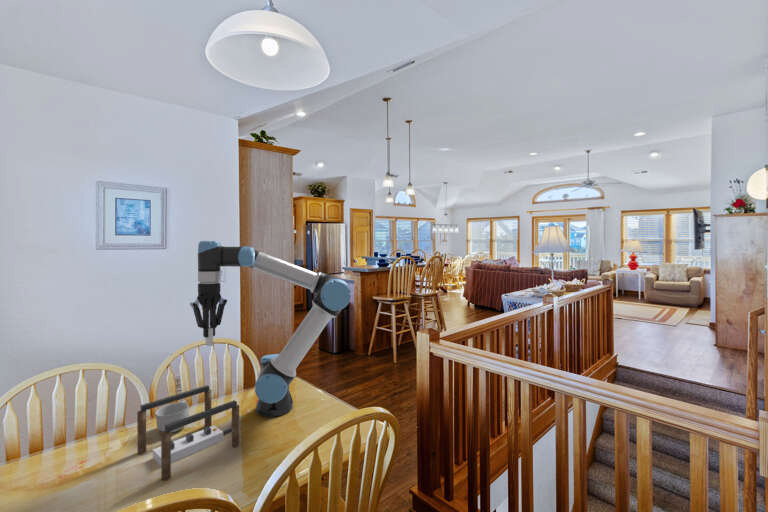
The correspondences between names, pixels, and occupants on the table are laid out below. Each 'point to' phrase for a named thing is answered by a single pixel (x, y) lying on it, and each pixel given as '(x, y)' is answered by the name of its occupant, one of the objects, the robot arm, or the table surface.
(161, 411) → the teacup
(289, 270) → the robot arm
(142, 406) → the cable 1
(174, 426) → the cable
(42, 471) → the table surface
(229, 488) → the table surface
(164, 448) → the posts
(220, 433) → the switch strip
